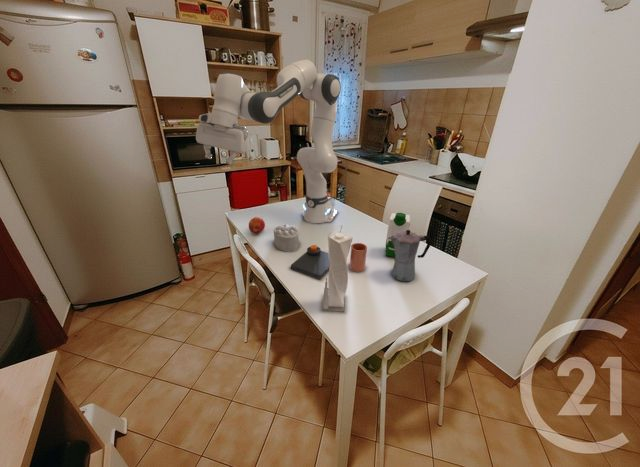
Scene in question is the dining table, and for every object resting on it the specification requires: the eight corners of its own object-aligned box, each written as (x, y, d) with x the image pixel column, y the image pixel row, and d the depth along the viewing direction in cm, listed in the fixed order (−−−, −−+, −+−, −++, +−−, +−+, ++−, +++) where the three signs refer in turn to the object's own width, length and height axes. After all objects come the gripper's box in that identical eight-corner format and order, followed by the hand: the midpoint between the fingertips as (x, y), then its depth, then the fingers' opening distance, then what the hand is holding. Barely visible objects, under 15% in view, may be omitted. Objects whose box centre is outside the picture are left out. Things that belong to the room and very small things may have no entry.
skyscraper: (325, 293, 94) (326, 223, 81) (347, 295, 94) (352, 224, 81) (322, 310, 87) (324, 236, 74) (347, 312, 86) (353, 237, 73)
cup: (353, 261, 113) (355, 241, 108) (367, 266, 110) (369, 245, 105) (347, 269, 108) (348, 248, 103) (361, 273, 105) (363, 252, 100)
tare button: (312, 247, 117) (312, 244, 116) (318, 249, 115) (318, 246, 114) (309, 250, 114) (309, 247, 114) (314, 252, 113) (314, 249, 112)
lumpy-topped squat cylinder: (291, 236, 132) (290, 220, 128) (303, 247, 122) (303, 231, 118) (272, 241, 127) (270, 225, 123) (283, 254, 118) (281, 237, 114)
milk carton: (383, 256, 116) (389, 215, 107) (385, 246, 124) (391, 207, 115) (403, 260, 114) (411, 218, 104) (405, 250, 121) (412, 210, 112)
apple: (267, 229, 139) (265, 215, 136) (262, 236, 132) (261, 222, 128) (252, 228, 140) (250, 214, 136) (247, 235, 133) (245, 221, 129)
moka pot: (382, 267, 109) (388, 224, 100) (419, 268, 109) (429, 225, 99) (386, 281, 101) (393, 236, 91) (427, 282, 100) (438, 237, 91)
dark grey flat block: (311, 251, 120) (311, 244, 118) (339, 260, 114) (339, 253, 112) (290, 268, 108) (290, 261, 106) (320, 279, 101) (320, 272, 100)
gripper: (253, 129, 93) (247, 168, 96) (208, 119, 99) (203, 156, 102) (243, 124, 87) (236, 166, 90) (195, 115, 93) (190, 154, 96)
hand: (218, 161), depth 96 cm, fingers open, 8 cm apart
